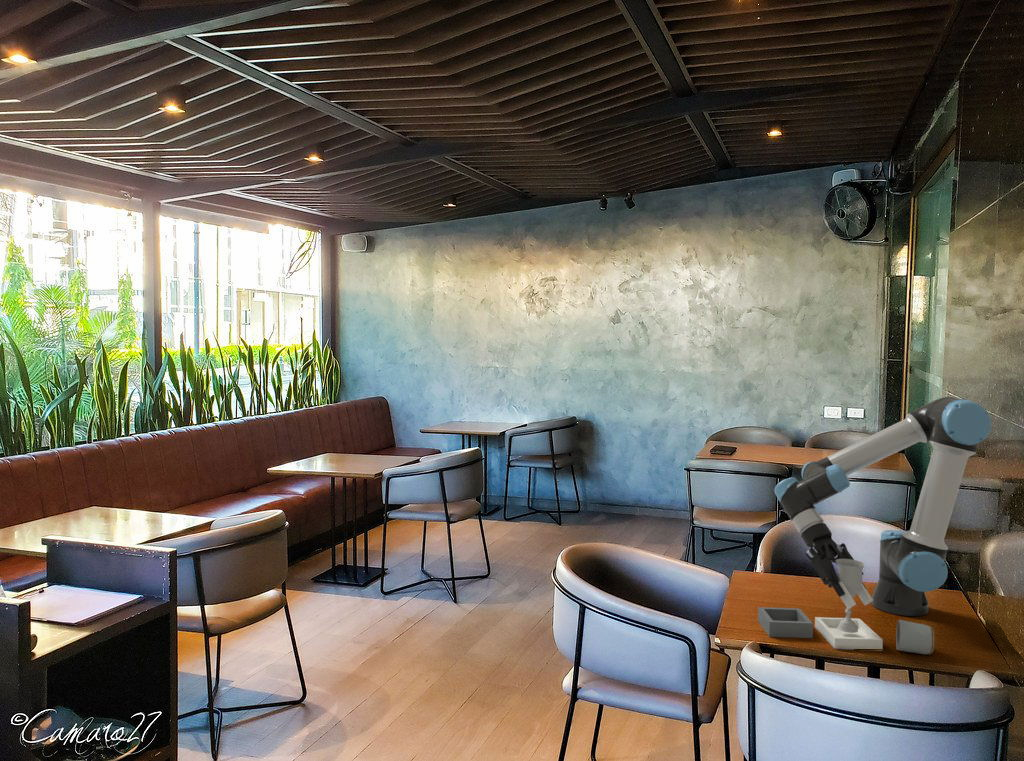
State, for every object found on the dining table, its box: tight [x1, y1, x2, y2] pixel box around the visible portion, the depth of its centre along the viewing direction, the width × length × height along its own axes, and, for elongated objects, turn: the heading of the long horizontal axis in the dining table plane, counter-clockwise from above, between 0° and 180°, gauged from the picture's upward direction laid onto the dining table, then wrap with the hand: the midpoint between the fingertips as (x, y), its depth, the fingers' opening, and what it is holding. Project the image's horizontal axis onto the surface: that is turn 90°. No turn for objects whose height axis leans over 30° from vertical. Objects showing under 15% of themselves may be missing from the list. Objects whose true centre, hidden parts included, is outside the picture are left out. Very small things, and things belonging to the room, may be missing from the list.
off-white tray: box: [814, 616, 884, 650], centre depth 203 cm, size 12×15×3 cm
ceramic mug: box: [895, 619, 935, 655], centre depth 196 cm, size 11×8×8 cm
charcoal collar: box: [757, 606, 814, 639], centre depth 209 cm, size 11×11×4 cm
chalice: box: [835, 559, 866, 633], centre depth 202 cm, size 7×7×18 cm
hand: (860, 604), depth 199 cm, fingers closed on chalice, 6 cm apart
